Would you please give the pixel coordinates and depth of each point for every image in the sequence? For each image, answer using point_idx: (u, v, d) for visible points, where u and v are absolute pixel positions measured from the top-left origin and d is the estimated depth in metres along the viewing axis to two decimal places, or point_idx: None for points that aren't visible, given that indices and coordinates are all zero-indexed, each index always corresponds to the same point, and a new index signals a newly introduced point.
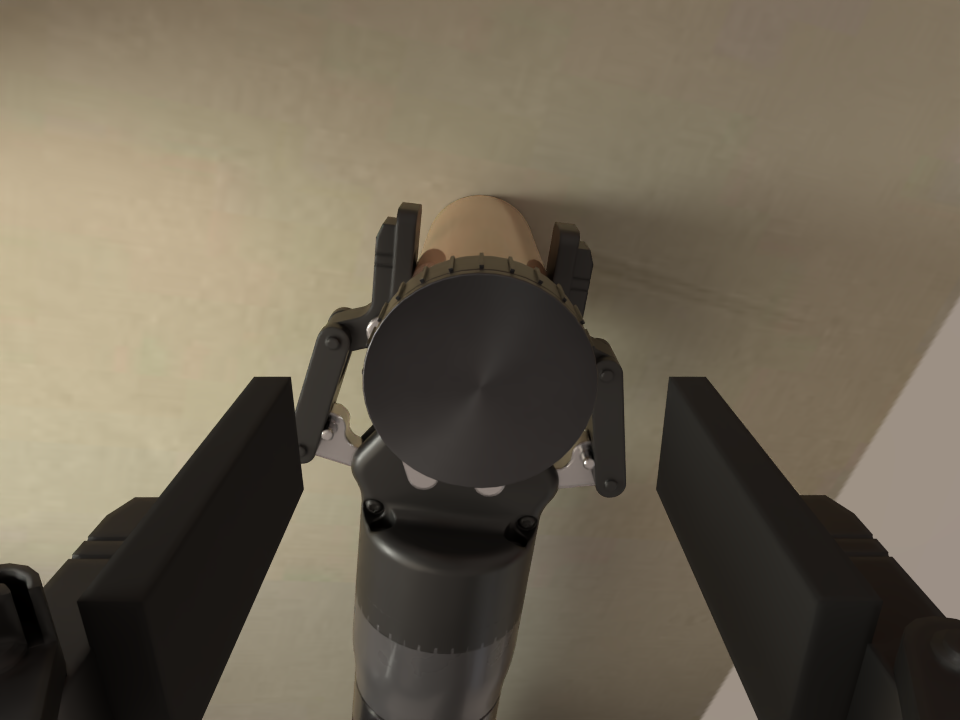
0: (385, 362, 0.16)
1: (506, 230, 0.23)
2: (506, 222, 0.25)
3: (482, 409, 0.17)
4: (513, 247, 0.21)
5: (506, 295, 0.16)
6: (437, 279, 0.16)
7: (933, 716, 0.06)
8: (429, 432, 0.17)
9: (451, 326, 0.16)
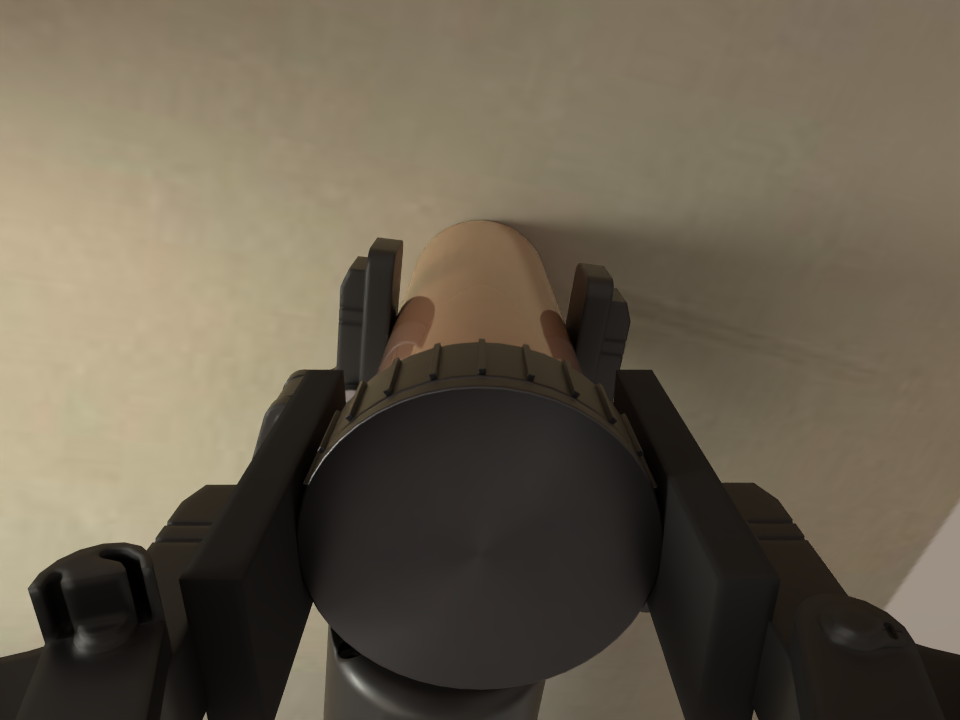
0: (330, 518, 0.10)
1: (515, 277, 0.17)
2: (514, 263, 0.19)
3: (483, 584, 0.11)
4: (526, 308, 0.15)
5: (521, 420, 0.10)
6: (410, 394, 0.10)
7: (821, 691, 0.07)
8: (401, 615, 0.11)
9: (433, 466, 0.10)
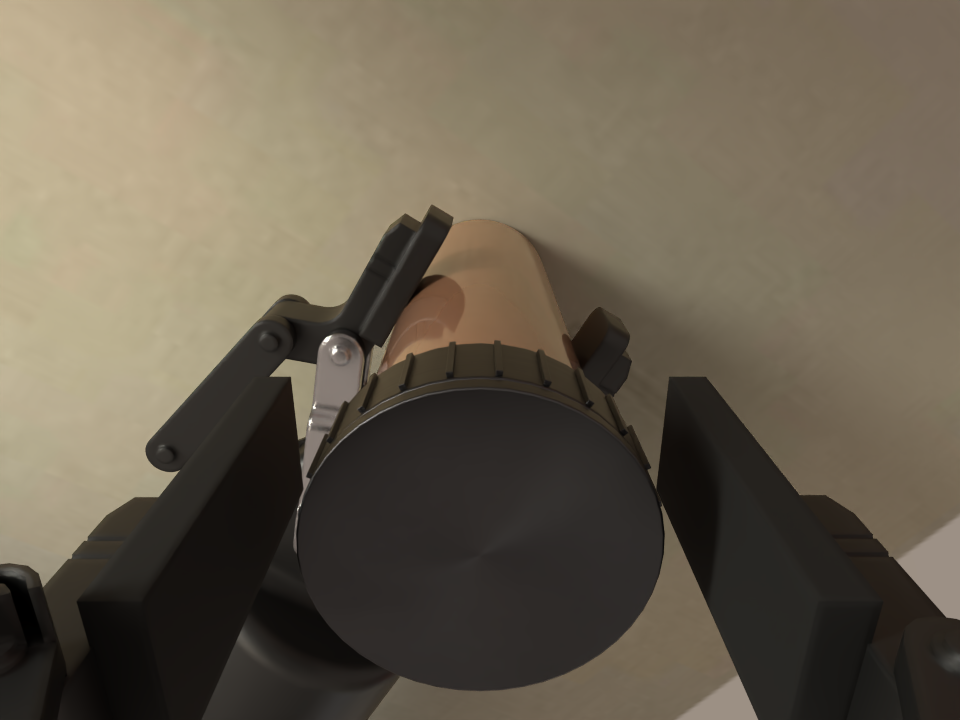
0: (421, 659, 0.11)
1: (547, 297, 0.18)
2: (543, 282, 0.19)
3: (517, 556, 0.11)
4: (561, 332, 0.15)
5: (333, 504, 0.10)
6: (305, 580, 0.11)
7: (934, 716, 0.06)
8: (542, 627, 0.11)
9: (375, 578, 0.11)
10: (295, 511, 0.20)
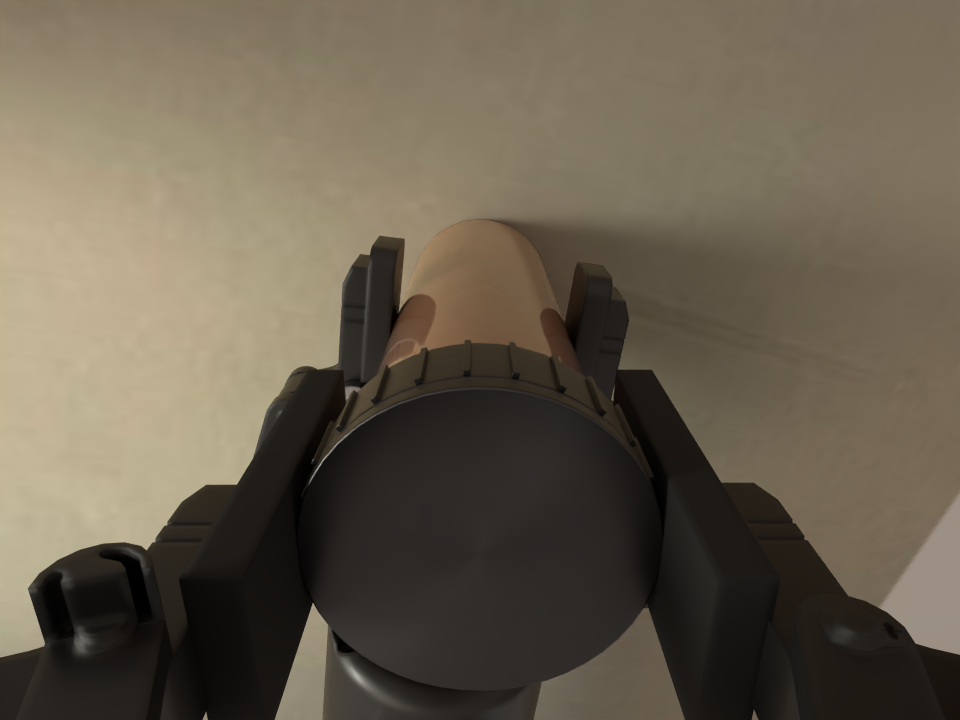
0: (477, 669, 0.11)
1: (515, 276, 0.17)
2: (514, 262, 0.19)
3: (515, 543, 0.10)
4: (526, 306, 0.15)
5: (325, 556, 0.11)
6: (340, 632, 0.11)
7: (821, 691, 0.07)
8: (574, 600, 0.11)
9: (396, 609, 0.11)
10: None
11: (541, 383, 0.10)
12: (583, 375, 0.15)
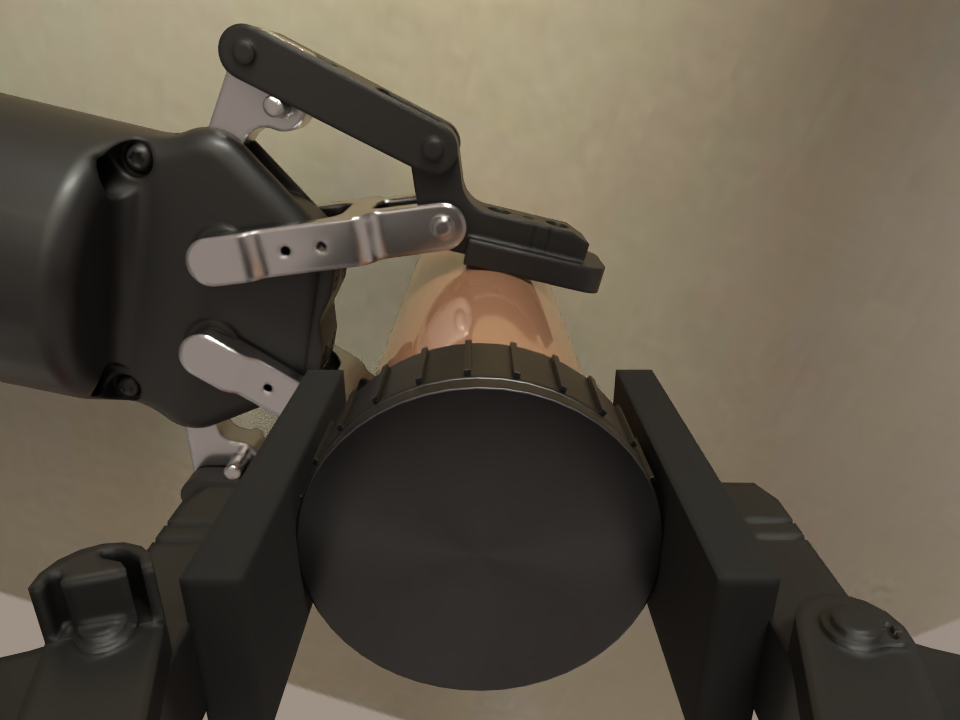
0: (477, 669, 0.11)
1: None
2: None
3: (515, 544, 0.10)
4: None
5: (325, 556, 0.11)
6: (339, 631, 0.11)
7: (821, 691, 0.07)
8: (573, 601, 0.11)
9: (396, 609, 0.11)
10: (232, 222, 0.17)
11: (542, 383, 0.10)
12: None
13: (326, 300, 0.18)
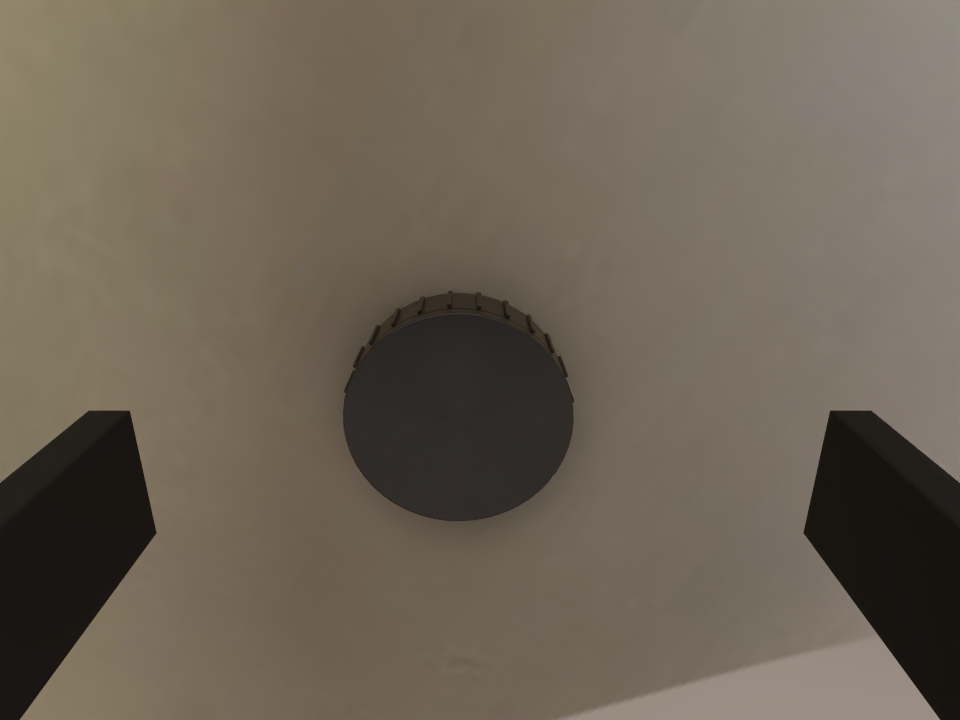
0: (458, 505, 0.18)
1: None
2: None
3: (480, 415, 0.17)
4: None
5: (361, 425, 0.17)
6: None
7: None
8: (518, 454, 0.17)
9: (406, 462, 0.17)
10: None
11: (495, 313, 0.16)
12: None
13: None
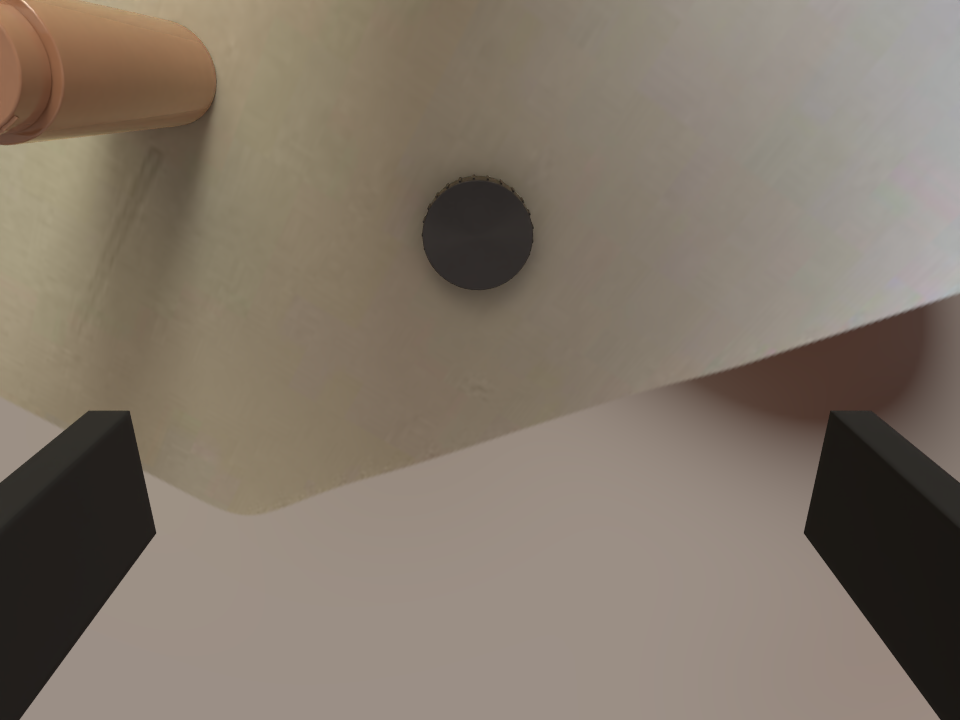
0: (477, 281, 0.36)
1: (143, 109, 0.28)
2: (160, 110, 0.29)
3: (488, 232, 0.35)
4: (111, 114, 0.25)
5: (431, 237, 0.35)
6: (433, 267, 0.36)
7: None
8: (506, 253, 0.35)
9: (452, 257, 0.36)
10: None
11: (495, 182, 0.35)
12: (59, 139, 0.25)
13: None
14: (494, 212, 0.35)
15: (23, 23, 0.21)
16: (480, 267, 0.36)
